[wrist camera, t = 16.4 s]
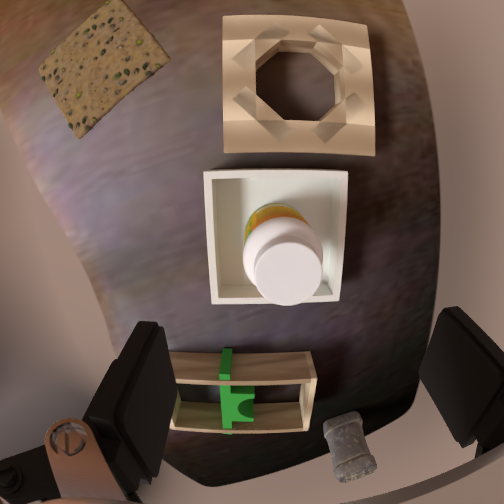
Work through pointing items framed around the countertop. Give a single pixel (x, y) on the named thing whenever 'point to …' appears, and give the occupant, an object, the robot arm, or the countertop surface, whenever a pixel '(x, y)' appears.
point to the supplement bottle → (282, 254)
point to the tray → (256, 195)
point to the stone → (348, 447)
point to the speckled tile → (101, 65)
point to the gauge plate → (325, 51)
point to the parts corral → (245, 373)
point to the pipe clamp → (234, 395)
